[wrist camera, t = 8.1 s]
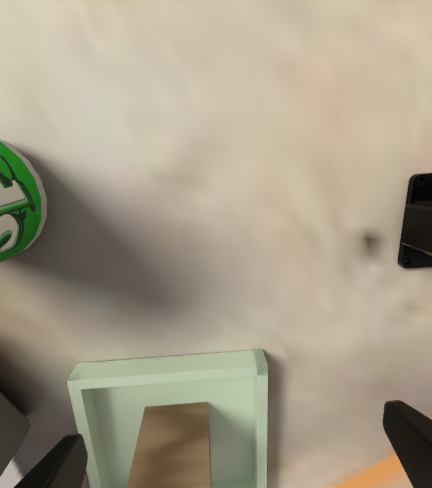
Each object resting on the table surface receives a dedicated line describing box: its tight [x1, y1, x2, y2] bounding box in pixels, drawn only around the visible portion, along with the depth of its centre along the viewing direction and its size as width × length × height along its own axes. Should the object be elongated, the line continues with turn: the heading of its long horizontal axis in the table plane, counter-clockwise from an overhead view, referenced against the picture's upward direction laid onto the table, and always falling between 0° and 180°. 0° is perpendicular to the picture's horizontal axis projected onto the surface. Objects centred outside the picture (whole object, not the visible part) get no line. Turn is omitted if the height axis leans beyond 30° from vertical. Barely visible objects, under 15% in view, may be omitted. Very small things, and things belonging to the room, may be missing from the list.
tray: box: [67, 349, 268, 488], centre depth 22 cm, size 14×14×2 cm
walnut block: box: [126, 402, 212, 488], centre depth 20 cm, size 5×5×6 cm
